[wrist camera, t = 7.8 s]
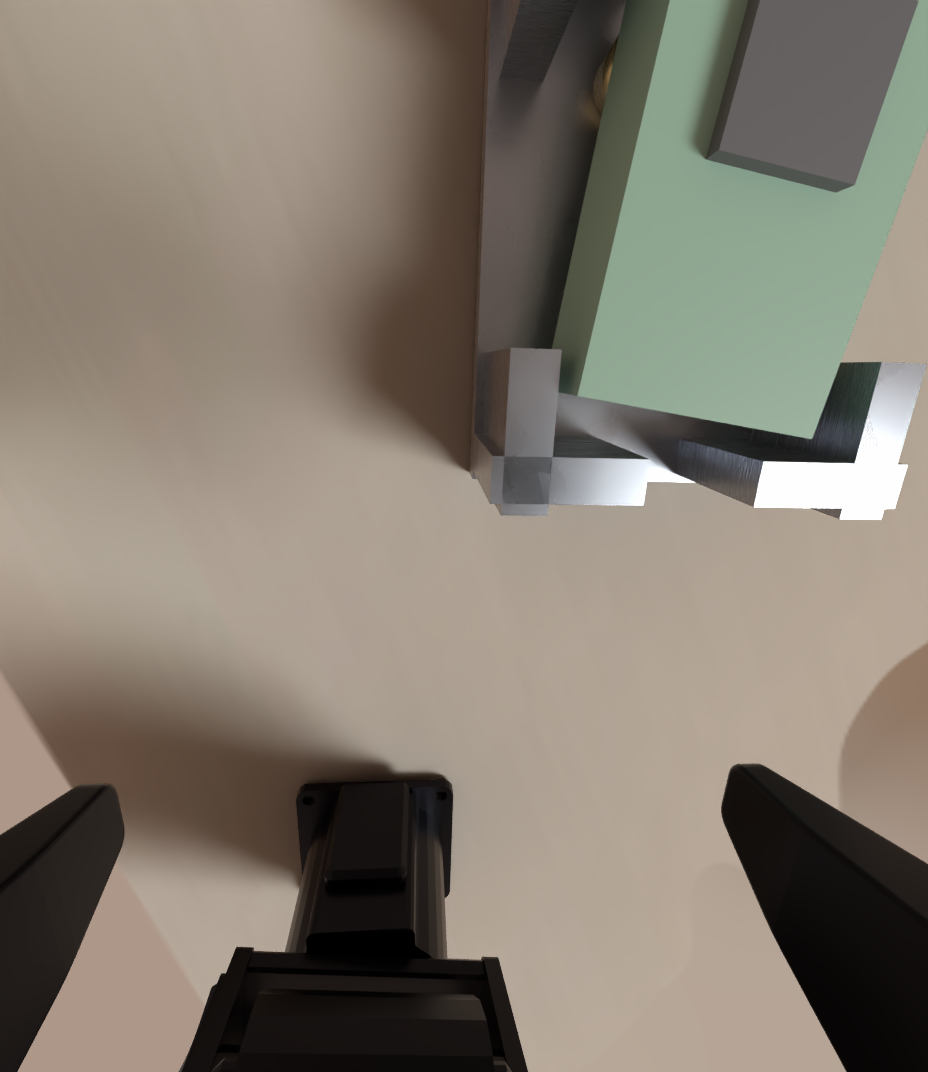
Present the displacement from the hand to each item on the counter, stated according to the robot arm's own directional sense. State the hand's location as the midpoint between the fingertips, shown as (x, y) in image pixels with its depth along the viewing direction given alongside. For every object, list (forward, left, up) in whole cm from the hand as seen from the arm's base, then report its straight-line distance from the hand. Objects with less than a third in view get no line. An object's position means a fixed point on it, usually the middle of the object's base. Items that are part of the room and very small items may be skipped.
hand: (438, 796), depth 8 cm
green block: (+10, -7, -10) cm, 15 cm away
